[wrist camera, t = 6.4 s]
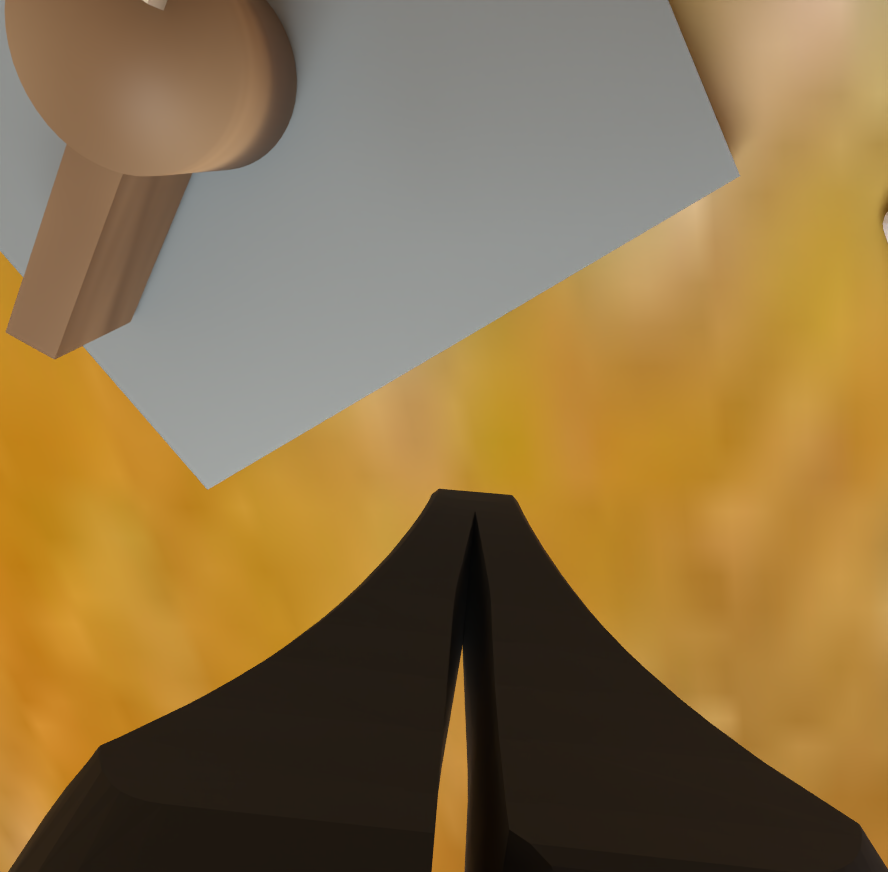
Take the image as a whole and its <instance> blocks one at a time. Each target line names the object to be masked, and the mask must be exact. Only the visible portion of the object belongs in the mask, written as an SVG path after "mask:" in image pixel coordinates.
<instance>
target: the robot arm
mask: <svg viewBox="0 0 888 872" xmlns="http://www.w3.org/2000/svg"><path fill="white" fill-rule="evenodd" d="M883 230H884V233H885V236H886V239H887V242H888V212H887V213H886V215H885V217H884V220H883ZM462 645H463V667H464V692H465V716H466V739H467V763H468V811H467V832H466V854H465V872H888V869H887V867H886V866H885V864H884V863H883V861H882V859H881V858H880V856H879V855H878V853H877V852H876V850H875V848H874V847H873V845H872V844H871V842H870V840H869V839H868V837H867V836H866V834H865V832H864V831H863V829H862V828H861V826H860V824H858V823H857V822H855V821H854V820H852V819H851V818H849V817H847V816H846V815H844V814H843V813H841V812H840V811H838V810H837V809H835V808H834V807H832V806H831V805H829V804H827V803H826V802H824V801H823V800H821V799H820V798H818V797H817V796H815V795H814V794H812V793H810V792H809V791H807V790H806V789H804V788H803V787H801V786H800V785H798V784H797V783H795V782H793V781H792V780H790V779H789V778H787V777H786V776H784V775H783V774H781V773H780V772H778V771H776V770H775V769H773V768H772V767H770V766H769V765H767V764H766V763H764V762H763V761H761V760H760V759H759V758H757V757H756V756H754V755H753V754H752V753H750V752H749V751H747V750H746V749H745V748H743V747H742V746H741V745H739V744H738V743H737V742H735V741H734V740H733V739H731V738H730V737H729V736H727V735H726V734H724V733H723V732H722V731H720V730H719V729H718V728H716V727H715V726H714V725H712V724H711V723H710V722H708V721H707V720H706V719H705V718H703V717H702V716H701V715H700V714H698V713H697V712H696V711H695V710H693V709H692V708H691V707H690V706H688V705H687V704H686V703H684V702H683V701H682V700H681V699H680V698H678V697H677V696H676V695H675V694H674V693H673V692H672V691H670V690H669V689H668V688H667V687H666V686H665V685H664V684H662V683H661V682H660V681H659V680H658V679H657V678H656V677H654V676H653V675H652V674H651V673H650V672H649V671H648V670H646V669H645V668H644V667H643V666H642V665H641V664H640V663H639V662H638V661H637V660H636V659H635V658H634V657H632V656H631V655H630V654H629V653H628V652H627V651H626V650H625V649H624V648H623V647H622V646H621V645H620V644H619V643H618V642H617V640H616V639H615V638H614V637H613V636H612V635H611V634H610V633H609V632H608V631H607V630H606V629H605V628H604V627H603V626H602V625H601V624H600V622H599V621H598V620H597V619H596V618H595V617H594V615H593V614H592V613H591V612H590V611H589V610H588V608H587V607H586V606H585V605H584V603H583V602H582V601H581V600H580V598H579V597H578V596H577V594H576V593H575V592H574V591H573V589H572V588H571V587H570V585H569V584H568V583H567V581H566V580H565V579H564V577H563V576H562V575H561V573H560V572H559V570H558V569H557V567H556V566H555V564H554V563H553V561H552V560H551V559H550V557H549V556H548V554H547V553H546V551H545V550H544V548H543V547H542V545H541V543H540V542H539V540H538V539H537V537H536V535H535V533H534V532H533V530H532V528H531V527H530V525H529V523H528V521H527V519H526V518H525V516H524V514H523V512H522V510H521V508H520V506H519V504H518V502H517V500H516V499H515V498H514V497H513V496H512V495H504V494H493V493H481V492H470V491H458V490H447V489H438V490H437V491H436V492H434V493H433V494H432V495H431V498H430V500H429V501H428V503H427V505H426V506H425V508H424V510H423V511H422V513H421V514H420V516H419V517H418V518H417V520H416V521H415V523H414V524H413V525H412V527H411V528H410V529H409V531H408V532H407V533H406V534H405V536H404V537H403V538H402V539H401V541H400V542H399V543H398V544H397V545H396V547H395V548H394V549H393V550H392V552H391V553H390V554H389V555H388V556H387V557H386V558H385V559H384V560H383V562H382V563H381V564H380V565H379V566H378V567H377V568H376V569H375V570H374V571H373V572H372V573H371V574H370V575H369V576H368V577H367V578H366V579H365V580H364V582H363V583H362V584H361V585H359V586H358V587H357V588H356V589H355V590H354V591H353V592H352V593H351V594H350V595H349V596H348V597H347V598H346V599H344V600H343V601H342V602H341V603H340V604H339V605H338V606H336V607H335V608H334V609H333V610H332V611H331V612H329V613H328V614H327V615H326V616H325V617H324V618H322V619H321V620H320V621H319V622H317V623H316V624H315V625H313V626H312V627H311V628H309V629H308V630H307V631H305V632H304V633H303V634H301V635H300V636H299V637H297V638H296V639H295V640H293V641H292V642H291V643H289V644H288V645H287V646H285V647H284V648H282V649H281V650H279V651H278V652H277V653H275V654H274V655H272V656H271V657H269V658H268V659H266V660H265V661H263V662H262V663H260V664H258V665H257V666H255V667H253V668H252V669H250V670H248V671H247V672H245V673H243V674H242V675H240V676H238V677H237V678H235V679H233V680H232V681H230V682H228V683H226V684H224V685H223V686H221V687H219V688H217V689H216V690H214V691H212V692H210V693H209V694H207V695H205V696H203V697H201V698H199V699H197V700H195V701H193V702H192V703H190V704H188V705H186V706H184V707H182V708H179V709H177V710H175V711H173V712H171V713H169V714H167V715H165V716H163V717H161V718H159V719H157V720H154V721H152V722H150V723H148V724H146V725H144V726H142V727H140V728H138V729H136V730H134V731H132V732H129V733H127V734H125V735H123V736H121V737H119V738H117V739H114V740H112V741H110V742H107V743H105V744H103V745H101V746H99V747H98V749H97V750H96V751H95V753H94V754H93V756H92V757H91V758H90V760H89V761H88V762H87V763H86V765H85V766H84V767H83V768H82V769H81V771H80V772H79V773H78V774H77V775H76V777H75V778H74V779H73V780H72V781H71V783H70V784H69V785H68V786H67V787H66V789H65V790H64V791H63V793H62V794H61V795H60V797H59V798H58V799H57V801H56V802H55V804H54V805H53V806H52V808H51V809H50V810H49V812H48V813H47V815H46V816H45V817H44V819H43V820H42V822H41V823H40V825H39V826H38V828H37V829H36V831H35V832H34V834H33V835H32V837H31V838H30V840H29V841H28V843H27V844H26V846H25V847H24V849H23V850H22V852H21V853H20V855H19V856H18V858H17V859H16V861H15V862H14V864H13V865H12V867H11V868H10V870H9V871H8V872H431V870H432V859H433V847H434V835H435V823H436V810H437V798H438V790H439V782H440V775H441V767H442V761H443V756H444V750H445V744H446V738H447V732H448V726H449V721H450V715H451V709H452V703H453V697H454V692H455V686H456V680H457V674H458V668H459V662H460V656H461V651H462Z"/></svg>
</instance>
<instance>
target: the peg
mask: <svg viewBox="0 0 888 872" xmlns="http://www.w3.org/2000/svg"><path fill="white" fill-rule="evenodd" d="M5 28H6V34H7V40H8V46H9V49H10V53H11V57H12V60H13V64H14V66H15V69H16V72H17V74H18V77H19V79H20V82H21V84H22V86H23V88H24V90H25V92H26V94H27V96H28V97H29V99H30V101H31V102H32V104H33V105H34V107H35V109H36V110H37V112H38V113H39V114H40V116H41V117H42V118H43V120H44V121H45V122H46V123H47V125H48V126H49V127H50V128H51V129H52V130H53V131H54V132H55V133H56V134H57V136H58V137H59V138H60V139H62V140H63V141H64V142H65V143H66V147H65V150H64V153H63V157H62V160H61V163H60V166H59V169H58V172H57V175H56V178H55V181H54V184H53V187H52V191H51V194H50V197H49V200H48V203H47V206H46V209H45V212H44V215H43V218H42V221H41V225H40V228H39V231H38V234H37V237H36V240H35V243H34V246H33V249H32V252H31V255H30V259H29V262H28V265H27V268H26V271H25V274H24V277H23V280H22V283H21V286H20V289H19V293H18V296H17V299H16V302H15V305H14V308H13V311H12V314H11V317H10V320H9V323H8V327H7V330H6V333H8V334H10V335H11V336H13V337H15V338H17V339H19V340H20V341H22V342H24V343H26V344H28V345H29V346H31V347H33V348H35V349H37V350H38V351H40V352H42V353H44V354H46V355H47V356H49V357H51V358H53V359H56V358H58V357H61V356H63V355H65V354H67V353H69V352H71V351H73V350H75V349H77V348H79V347H81V346H83V345H85V344H87V343H89V342H91V341H93V340H95V339H97V338H99V337H101V336H103V335H105V334H107V333H109V332H112V331H114V330H116V329H118V328H120V327H122V326H124V325H126V324H128V323H130V322H131V320H132V318H133V315H134V313H135V310H136V308H137V305H138V303H139V301H140V298H141V296H142V293H143V291H144V289H145V286H146V284H147V281H148V279H149V277H150V274H151V272H152V269H153V267H154V264H155V262H156V260H157V257H158V255H159V252H160V250H161V248H162V245H163V243H164V240H165V238H166V236H167V233H168V231H169V228H170V226H171V223H172V221H173V219H174V216H175V214H176V211H177V209H178V207H179V204H180V202H181V199H182V197H183V195H184V192H185V190H186V187H187V185H188V182H189V180H190V178H191V175H192V173H198V172H210V171H222V170H231V169H237V168H241V167H244V166H247V165H250V164H252V163H254V162H256V161H257V160H259V159H261V158H262V157H263V156H265V155H266V154H267V153H268V152H269V151H270V150H271V149H272V148H273V147H274V146H275V145H276V144H277V143H278V141H279V140H280V139H281V137H282V136H283V134H284V132H285V130H286V128H287V127H288V124H289V121H290V119H291V116H292V113H293V109H294V105H295V99H296V90H297V76H296V66H295V60H294V56H293V51H292V48H291V45H290V42H289V39H288V36H287V34H286V31H285V29H284V27H283V25H282V23H281V21H280V19H279V18H278V16H277V14H276V13H275V11H274V10H273V8H272V7H271V6H270V5H269V3H268V2H267V1H266V0H5Z"/></svg>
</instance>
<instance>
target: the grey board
mask: <svg viewBox="0 0 888 872" xmlns="http://www.w3.org/2000/svg"><path fill="white" fill-rule="evenodd" d="M266 1H267V2H268V3H269V5H270V6H271V7H272V8H273V10H274V11H275V13H276V14H277V16H278V18H279V19H280V21H281V23H282V25H283V27H284V29H285V31H286V34H287V36H288V39H289V42H290V45H291V48H292V51H293V56H294V60H295V66H296V76H297V90H296V99H295V105H294V109H293V113H292V116H291V119H290V121H289V124H288V127H287V128H286V130H285V132H284V134H283V136H282V137H281V139H280V140H279V141H278V143H277V144H276V145H275V146H274V147H273V148H272V149H271V150H270V151H269V152H268V153H267V154H266V155H265V156H263V157H262V158H261V159H259V160H257V161H256V162H254V163H252V164H250V165H247V166H244V167H241V168H237V169H231V170H222V171H210V172H198V173H192V175H191V178H190V180H189V182H188V185H187V187H186V190H185V192H184V195H183V197H182V199H181V202H180V204H179V207H178V209H177V211H176V214H175V216H174V219H173V221H172V223H171V226H170V228H169V231H168V233H167V236H166V238H165V240H164V243H163V245H162V248H161V250H160V252H159V255H158V257H157V260H156V262H155V264H154V267H153V269H152V272H151V274H150V277H149V279H148V281H147V284H146V286H145V289H144V291H143V293H142V296H141V298H140V301H139V303H138V305H137V308H136V310H135V313H134V315H133V318H132V320H131V322H130V323H128V324H126V325H124V326H122V327H120V328H118V329H116V330H114V331H112V332H109V333H107V334H105V335H103V336H101V337H99V338H97V339H95V340H93V341H91V342H89V343H87V344H85V345H83V347H84V348H85V349H86V350H87V351H88V352H89V354H90V355H91V356H92V357H93V358H94V359H95V361H96V362H97V363H98V364H99V365H100V366H101V367H102V369H103V370H104V371H105V372H106V373H107V374H108V375H109V377H110V378H111V379H112V380H113V381H114V382H115V384H116V385H117V386H118V387H119V388H120V389H121V390H122V392H123V393H124V394H125V395H126V396H127V397H128V399H129V400H130V401H131V402H132V403H133V404H134V405H135V407H136V408H137V409H138V410H139V411H140V412H141V414H142V415H143V416H144V417H145V418H146V419H147V420H148V422H149V423H150V424H151V425H152V426H153V427H154V429H155V430H156V431H157V432H158V433H159V434H160V435H161V437H162V438H163V439H164V440H165V441H166V442H167V443H168V445H169V446H170V447H171V448H172V449H173V450H174V452H175V453H176V454H177V455H178V456H179V457H180V458H181V460H182V461H183V462H184V463H185V464H186V465H187V467H188V468H189V469H190V470H191V471H192V472H193V473H194V475H195V476H196V477H197V478H198V479H199V480H200V482H201V483H202V484H203V485H204V486H205V487H206V488H207V490H208V489H209V488H211V487H213V486H214V485H216V484H218V483H220V482H221V481H223V480H225V479H226V478H228V477H230V476H231V475H233V474H235V473H236V472H238V471H240V470H242V469H243V468H245V467H247V466H248V465H250V464H252V463H253V462H255V461H257V460H259V459H260V458H262V457H264V456H265V455H267V454H269V453H270V452H272V451H274V450H276V449H277V448H279V447H281V446H282V445H284V444H286V443H287V442H289V441H291V440H293V439H294V438H296V437H298V436H299V435H301V434H303V433H304V432H306V431H308V430H309V429H311V428H313V427H315V426H316V425H318V424H320V423H321V422H323V421H325V420H326V419H328V418H330V417H332V416H333V415H335V414H337V413H338V412H340V411H342V410H343V409H345V408H347V407H349V406H350V405H352V404H354V403H355V402H357V401H359V400H360V399H362V398H364V397H365V396H367V395H369V394H371V393H372V392H374V391H376V390H377V389H379V388H381V387H382V386H384V385H386V384H388V383H389V382H391V381H393V380H394V379H396V378H398V377H399V376H401V375H403V374H405V373H406V372H408V371H410V370H411V369H413V368H415V367H416V366H418V365H420V364H421V363H423V362H425V361H427V360H428V359H430V358H432V357H433V356H435V355H437V354H438V353H440V352H442V351H444V350H445V349H447V348H449V347H450V346H452V345H454V344H455V343H457V342H459V341H461V340H462V339H464V338H466V337H467V336H469V335H471V334H472V333H474V332H476V331H478V330H479V329H481V328H483V327H484V326H486V325H488V324H489V323H491V322H493V321H494V320H496V319H498V318H500V317H501V316H503V315H505V314H506V313H508V312H510V311H511V310H513V309H515V308H517V307H518V306H520V305H522V304H523V303H525V302H527V301H528V300H530V299H532V298H534V297H535V296H537V295H539V294H540V293H542V292H544V291H545V290H547V289H549V288H550V287H552V286H554V285H556V284H557V283H559V282H561V281H562V280H564V279H566V278H567V277H569V276H571V275H573V274H574V273H576V272H578V271H579V270H581V269H583V268H584V267H586V266H588V265H590V264H591V263H593V262H595V261H596V260H598V259H600V258H601V257H603V256H605V255H607V254H608V253H610V252H612V251H613V250H615V249H617V248H618V247H620V246H622V245H623V244H625V243H627V242H629V241H630V240H632V239H634V238H635V237H637V236H639V235H640V234H642V233H644V232H646V231H647V230H649V229H651V228H652V227H654V226H656V225H657V224H659V223H661V222H663V221H664V220H666V219H668V218H669V217H671V216H673V215H674V214H676V213H678V212H679V211H681V210H683V209H685V208H686V207H688V206H690V205H691V204H693V203H695V202H696V201H698V200H700V199H702V198H703V197H705V196H707V195H708V194H710V193H712V192H713V191H715V190H717V189H719V188H720V187H722V186H724V185H725V184H727V183H729V182H730V181H732V180H734V179H735V178H737V177H739V176H740V175H739V172H738V170H737V167H736V165H735V163H734V160H733V158H732V155H731V153H730V150H729V148H728V145H727V143H726V141H725V138H724V136H723V133H722V131H721V128H720V126H719V123H718V121H717V119H716V116H715V114H714V111H713V109H712V106H711V104H710V101H709V99H708V97H707V94H706V92H705V89H704V87H703V84H702V82H701V79H700V77H699V74H698V72H697V70H696V67H695V65H694V62H693V60H692V57H691V55H690V52H689V50H688V48H687V45H686V43H685V40H684V38H683V35H682V33H681V30H680V28H679V26H678V23H677V21H676V18H675V16H674V13H673V11H672V8H671V6H670V4H669V1H668V0H266ZM65 147H66V143H65V142H64V141H63V140H62V139H60V138H59V137H58V136H57V134H56V133H55V132H54V131H53V130H52V129H51V128H50V127H49V126H48V125H47V123H46V122H45V121H44V120H43V118H42V117H41V116H40V114H39V113H38V112H37V110H36V109H35V107H34V105H33V104H32V102H31V101H30V99H29V97H28V96H27V94H26V92H25V90H24V88H23V86H22V84H21V82H20V79H19V77H18V74H17V72H16V69H15V66H14V64H13V60H12V57H11V53H10V49H9V46H8V40H7V34H6V28H5V0H0V251H1V252H2V253H3V254H4V256H5V257H6V258H7V259H8V260H9V261H10V263H11V264H12V265H13V266H14V267H15V268H16V269H17V271H18V272H19V273H20V274H21V275H22V276H23V277H24V274H25V271H26V268H27V265H28V262H29V259H30V255H31V252H32V249H33V246H34V243H35V240H36V237H37V234H38V231H39V228H40V225H41V221H42V218H43V215H44V212H45V209H46V206H47V203H48V200H49V197H50V194H51V191H52V187H53V184H54V181H55V178H56V175H57V172H58V169H59V166H60V163H61V160H62V157H63V153H64V150H65Z"/></svg>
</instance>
